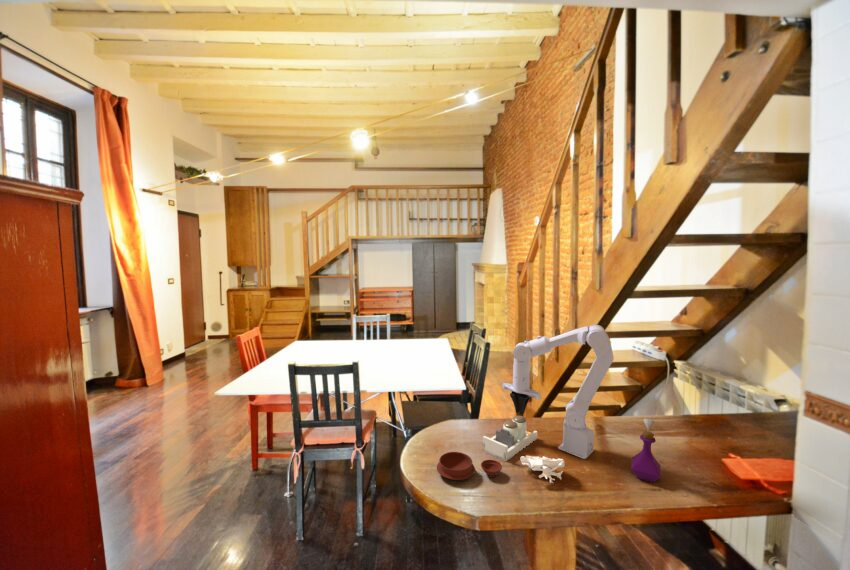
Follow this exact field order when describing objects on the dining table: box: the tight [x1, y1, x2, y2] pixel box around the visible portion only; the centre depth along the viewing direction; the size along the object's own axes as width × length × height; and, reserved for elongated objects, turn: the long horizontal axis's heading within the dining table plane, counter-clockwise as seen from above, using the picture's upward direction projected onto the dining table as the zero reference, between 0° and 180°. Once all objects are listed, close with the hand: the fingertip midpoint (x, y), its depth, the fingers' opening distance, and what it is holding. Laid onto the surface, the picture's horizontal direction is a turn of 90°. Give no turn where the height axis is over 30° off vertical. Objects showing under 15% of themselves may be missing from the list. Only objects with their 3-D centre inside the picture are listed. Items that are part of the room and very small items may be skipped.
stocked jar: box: [502, 420, 518, 445], centre depth 129 cm, size 5×5×7 cm
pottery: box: [436, 451, 503, 481], centre depth 112 cm, size 12×20×4 cm, turn 89°
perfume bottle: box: [631, 418, 662, 483], centre depth 111 cm, size 8×8×18 cm
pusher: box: [495, 427, 514, 449], centre depth 127 cm, size 7×1×6 cm, turn 45°
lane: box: [482, 430, 538, 462], centre depth 130 cm, size 9×21×5 cm, turn 135°
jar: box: [511, 415, 528, 440], centre depth 133 cm, size 5×5×7 cm
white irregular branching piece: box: [520, 455, 565, 484], centre depth 112 cm, size 12×7×12 cm
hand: (520, 412), depth 133 cm, fingers closed
